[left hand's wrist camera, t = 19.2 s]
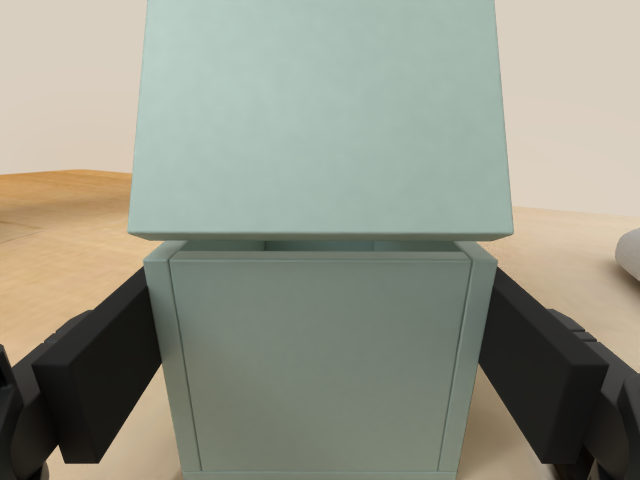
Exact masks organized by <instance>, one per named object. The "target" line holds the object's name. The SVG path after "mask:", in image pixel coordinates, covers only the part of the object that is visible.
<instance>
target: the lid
mask: <svg viewBox="0 0 640 480" xmlns="http://www.w3.org/2000/svg"><path fill="white" fill-rule="evenodd" d="M127 231H128V234H131V235H134V236H137V237H140V238H143V239H146V240H149V241H494V240H497V239H500V238H504V237H507V236H510V235H512V234H513V233H514V228H513V217H512V205H511V193H510V181H509V169H508V157H507V146H506V134H505V122H504V110H503V98H502V86H501V75H500V63H499V51H498V39H497V27H496V15H495V3H494V0H148V1H147V13H146V24H145V35H144V46H143V58H142V69H141V81H140V92H139V103H138V115H137V126H136V138H135V149H134V160H133V172H132V183H131V195H130V206H129V217H128V229H127Z"/></svg>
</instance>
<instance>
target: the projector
mask: <svg viewBox="0 0 640 480" xmlns="http://www.w3.org/2000/svg"><path fill="white" fill-rule="evenodd" d="M615 258H616V261H617V262H618V263H619V264H620V266H622V267H623V268H624V269H625V270H626V271H627V272H628V273H630V274H631V275H632V276H633V277H635V278H636V279H637V280H638V281H640V228H638V229H636V230H633V231H630V232H628V233H626V234H624V235H623V236H622V237H621V238H620V239H619V242H618V244H617V247H616V251H615Z"/></svg>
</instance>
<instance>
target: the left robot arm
mask: <svg viewBox="0 0 640 480" xmlns="http://www.w3.org/2000/svg"><path fill="white" fill-rule="evenodd" d="M161 363H162V361H161V355H160V350H159V345H158V339H157V334H156V329H155V324H154V318H153V313H152V307H151V302H150V297H149V291H148V286H147V281H146V275H145V270H144V266H143V267H142V268H141V269H139V270H138V271H137V272H136V273H135V274H134V275H133V276H131V277H130V278H129V279H128V280H127V281H126V282H125V283H123V284H122V285H121V286H120V287H119V288H118V289H117V290H115V291H114V292H113V293H112V294H111V295H110V296H109V297H107V298H106V299H105V300H104V301H103V302H102V303H101V304H99V305H98V306H97V307H96V308H95V309H94V310H87V311H85V312H83V313H82V314H80V315H78V316H76V317H74V318H72V319H70V320H69V321H67V322H66V323H65V324H64V325H63V326H61V327H60V328H59V329H58V330H57V331H56V333H53V334H52V335H51V336H49V337H48V338H47V339H46V340H45V341H44V343H41V344H40V345H39V346H37V347H36V348H35V349H34V350H33V351H31V352H30V353H29V354H28V355H26V356H25V357H24V358H23V359H22V360H20V361H19V362H18V363H17V364H16V365H14V366H13V367H12V368H11V365H10V363H9V360H8V357H7V354H6V352H5V349H4V346H3V345H1V344H0V480H49V470H48V466H47V463H46V459H47V458H48V457H49V456H50V454H51V453H52V452H53V451H54V449H55V448H56V447H57V445H59V448H60V451H61V454H62V457H63V460H64V462H65V464H99V462H100V461H101V459H102V457H103V456H104V454H105V453H106V451H107V449H108V448H109V446H110V445H111V443H112V441H113V440H114V438H115V437H116V435H117V433H118V432H119V430H120V429H121V427H122V426H123V424H124V422H125V421H126V419H127V418H128V416H129V414H130V413H131V411H132V410H133V408H134V406H135V405H136V403H137V402H138V400H139V398H140V397H141V395H142V394H143V392H144V391H145V389H146V387H147V386H148V384H149V383H150V381H151V379H152V378H153V376H154V375H155V373H156V371H157V370H158V368H159V367H160V365H161ZM478 363H479V364H480V366H481V368H482V369H483V371H484V372H485V374H486V376H487V377H488V379H489V380H490V382H491V384H492V385H493V387H494V388H495V390H496V392H497V393H498V395H499V396H500V398H501V399H502V401H503V403H504V404H505V406H506V407H507V409H508V411H509V412H510V414H511V415H512V417H513V419H514V420H515V422H516V423H517V425H518V426H519V428H520V430H521V431H522V433H523V434H524V436H525V438H526V439H527V441H528V442H529V444H530V446H531V447H532V449H533V450H534V452H535V454H536V455H537V457H538V458H539V460H540V461H541V463H542V464H576V461H577V458H578V455H579V452H580V449H581V447H582V444H584V445H585V447H586V448H587V449H588V450H589V452H590V453H591V454H592V456H593V457H594V458H595V460H594V463H593V466H592V468H591V471H590V474H589V477H588V479H587V480H640V373H639V374H638V373H637V372H636V371H634V370H633V369H632V368H631V367H630V366H628V365H627V364H626V363H625V362H623V361H622V360H621V359H620V358H619V357H617V356H616V355H615V354H614V353H613V352H611V351H610V350H609V349H608V348H606V347H605V346H604V345H603V344H602V343H600V342H597V339H596V338H594V337H593V336H592V335H591V334H589V333H588V332H585V329H583V328H582V327H581V326H580V325H579V324H577V323H576V322H575V321H574V320H572V319H571V318H569V317H567V316H565V315H563V314H562V313H560V312H558V311H556V310H554V309H546V308H544V307H543V306H542V305H541V304H540V303H539V302H538V301H536V300H535V299H534V298H533V297H532V296H531V295H530V294H528V293H527V292H526V291H525V290H524V289H523V288H522V287H520V286H519V285H518V284H517V283H516V282H515V281H514V280H512V279H511V278H510V277H509V276H508V275H507V274H506V273H504V272H503V271H502V270H501V269H500V268H499V267H498V266H497V269H496V274H495V279H494V284H493V288H492V293H491V298H490V304H489V309H488V314H487V319H486V325H485V330H484V335H483V340H482V346H481V351H480V356H479V361H478Z"/></svg>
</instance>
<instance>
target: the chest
mask: <svg viewBox="0 0 640 480" xmlns="http://www.w3.org/2000/svg"><path fill="white" fill-rule="evenodd" d="M497 263H498V261H497V259H495V258H494V257H493V256H492V255H491V254H489V253H488V252H487V251H486V250H485V249H483V248H482V247H481V246H480V245H479V244H478V243H476V242H475V241H165V242H163V243H162V244H161V245H160V246H159V247H157V248H156V249H155V250H154V251H153V252H152V253H150V254H149V255H148V256H147V257H146V258H144V259H143V264H144V270H145V275H146V281H147V286H148V291H149V297H150V302H151V307H152V313H153V318H154V324H155V329H156V334H157V339H158V345H159V350H160V355H161V361H162V367H163V372H164V377H165V383H166V388H167V393H168V399H169V404H170V410H171V415H172V420H173V426H174V431H175V436H176V442H177V447H178V453H179V458H180V463H181V469H182V474H183V479H184V480H456V476H457V470H458V465H459V460H460V455H461V450H462V445H463V439H464V434H465V429H466V424H467V419H468V414H469V408H470V403H471V398H472V393H473V388H474V383H475V377H476V372H477V367H478V361H479V356H480V351H481V346H482V340H483V335H484V330H485V325H486V319H487V314H488V309H489V304H490V298H491V293H492V288H493V284H494V279H495V274H496V269H497Z"/></svg>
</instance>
